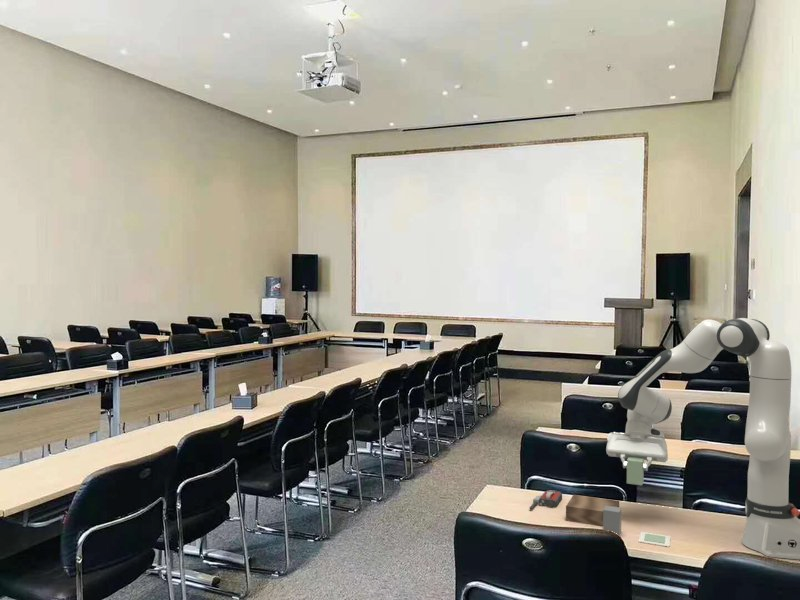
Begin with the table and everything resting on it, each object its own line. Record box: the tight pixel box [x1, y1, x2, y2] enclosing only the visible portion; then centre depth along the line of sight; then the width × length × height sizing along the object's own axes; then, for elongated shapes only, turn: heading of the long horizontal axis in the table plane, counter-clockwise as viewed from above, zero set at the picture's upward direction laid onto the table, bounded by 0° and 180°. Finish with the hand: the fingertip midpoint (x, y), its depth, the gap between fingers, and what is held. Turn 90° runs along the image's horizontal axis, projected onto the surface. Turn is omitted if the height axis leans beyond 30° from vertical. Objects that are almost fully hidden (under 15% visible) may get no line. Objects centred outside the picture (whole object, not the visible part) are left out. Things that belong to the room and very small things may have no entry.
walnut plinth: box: [565, 494, 620, 527], centre depth 221 cm, size 16×14×5 cm
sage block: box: [626, 457, 645, 486], centre depth 217 cm, size 5×5×8 cm
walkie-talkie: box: [529, 489, 563, 511], centre depth 236 cm, size 9×4×20 cm
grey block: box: [602, 506, 622, 536], centre depth 207 cm, size 5×5×8 cm
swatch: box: [638, 531, 672, 548], centre depth 202 cm, size 9×9×1 cm
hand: (635, 468), depth 217 cm, fingers closed on sage block, 5 cm apart
